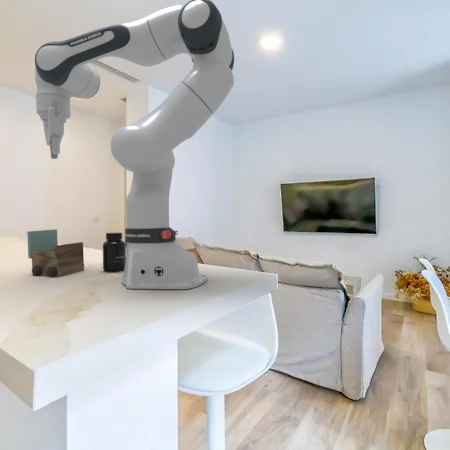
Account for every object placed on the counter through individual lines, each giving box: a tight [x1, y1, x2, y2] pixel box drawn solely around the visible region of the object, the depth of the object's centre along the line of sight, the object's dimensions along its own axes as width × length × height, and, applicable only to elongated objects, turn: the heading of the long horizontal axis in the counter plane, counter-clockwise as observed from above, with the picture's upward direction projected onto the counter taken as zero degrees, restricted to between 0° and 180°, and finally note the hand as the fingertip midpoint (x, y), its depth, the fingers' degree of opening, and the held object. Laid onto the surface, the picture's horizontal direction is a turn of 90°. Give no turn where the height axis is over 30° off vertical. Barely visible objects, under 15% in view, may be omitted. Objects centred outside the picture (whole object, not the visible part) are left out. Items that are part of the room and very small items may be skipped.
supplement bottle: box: [102, 232, 127, 273], centre depth 97 cm, size 7×7×12 cm
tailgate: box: [26, 229, 59, 260], centre depth 96 cm, size 2×10×8 cm, turn 164°
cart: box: [31, 241, 85, 278], centre depth 95 cm, size 10×12×9 cm
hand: (55, 156), depth 92 cm, fingers open, 8 cm apart
